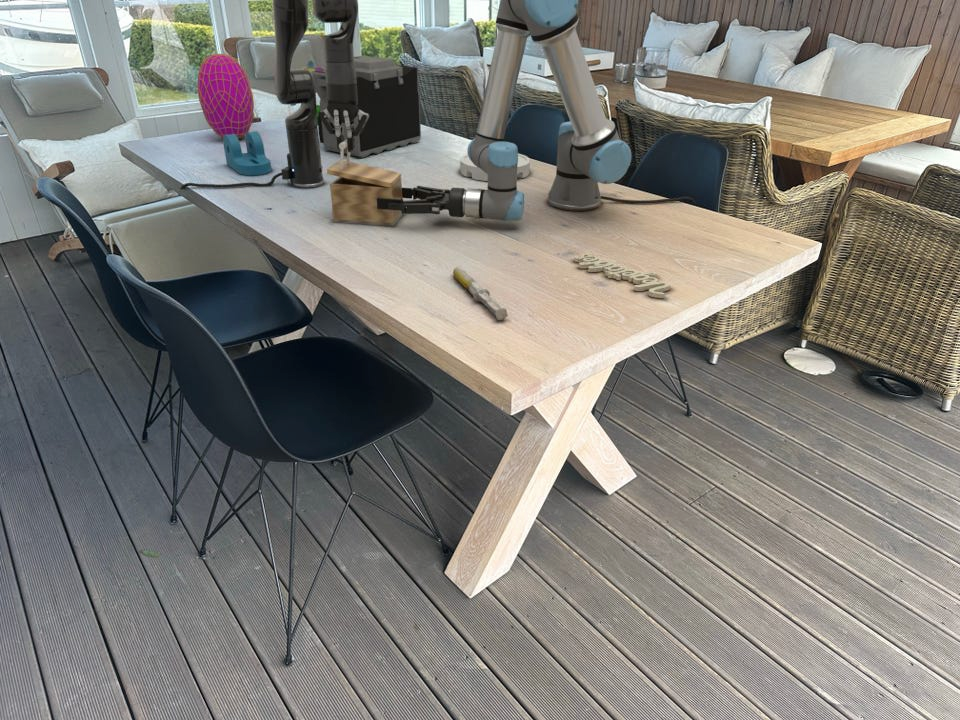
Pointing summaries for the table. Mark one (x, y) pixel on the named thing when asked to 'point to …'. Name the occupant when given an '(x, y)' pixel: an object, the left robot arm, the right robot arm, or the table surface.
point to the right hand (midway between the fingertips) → (383, 197)
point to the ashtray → (476, 173)
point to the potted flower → (311, 68)
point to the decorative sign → (625, 274)
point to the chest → (363, 202)
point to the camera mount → (246, 154)
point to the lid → (362, 171)
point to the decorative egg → (225, 95)
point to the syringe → (479, 293)
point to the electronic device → (378, 106)
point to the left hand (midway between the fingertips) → (346, 151)
